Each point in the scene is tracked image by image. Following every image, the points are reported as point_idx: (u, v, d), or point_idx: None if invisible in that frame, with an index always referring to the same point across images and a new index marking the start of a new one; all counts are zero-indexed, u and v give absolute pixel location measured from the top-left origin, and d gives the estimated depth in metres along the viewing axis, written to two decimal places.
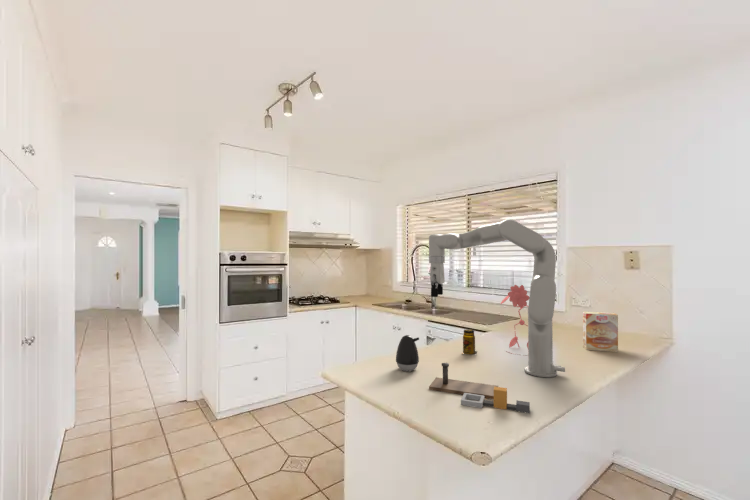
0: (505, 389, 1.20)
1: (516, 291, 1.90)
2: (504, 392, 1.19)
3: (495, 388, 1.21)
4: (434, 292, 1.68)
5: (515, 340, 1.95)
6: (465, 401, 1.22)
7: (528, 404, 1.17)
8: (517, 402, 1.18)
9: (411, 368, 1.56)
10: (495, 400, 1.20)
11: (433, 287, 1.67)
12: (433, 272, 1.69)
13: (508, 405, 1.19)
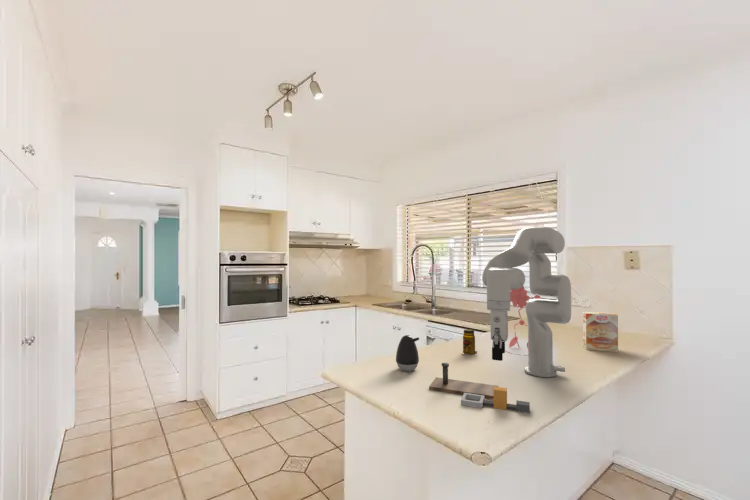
0: (505, 389, 1.20)
1: (516, 291, 1.90)
2: (504, 392, 1.19)
3: (495, 388, 1.21)
4: (497, 354, 1.16)
5: (515, 340, 1.95)
6: (465, 401, 1.22)
7: (528, 404, 1.17)
8: (517, 402, 1.18)
9: (411, 368, 1.56)
10: (495, 400, 1.20)
11: (496, 347, 1.16)
12: (495, 324, 1.17)
13: (508, 405, 1.19)
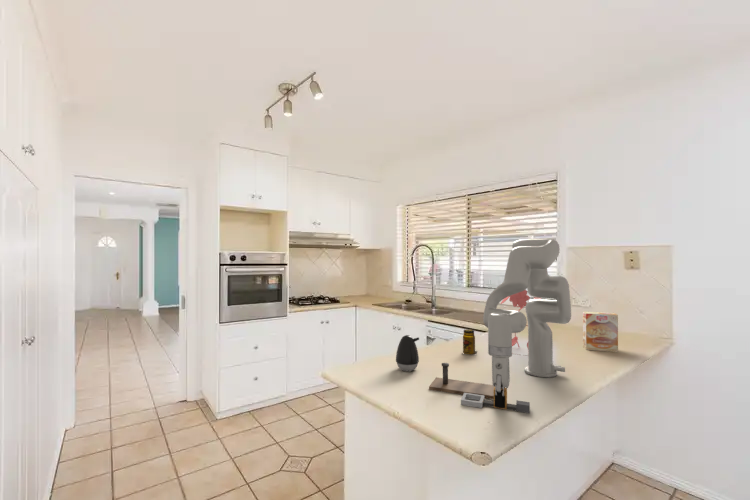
0: (505, 389, 1.20)
1: None
2: (504, 392, 1.19)
3: None
4: (500, 402, 1.18)
5: (515, 340, 1.95)
6: (465, 401, 1.22)
7: (528, 404, 1.17)
8: (517, 402, 1.18)
9: (411, 368, 1.56)
10: None
11: (499, 395, 1.18)
12: (497, 371, 1.16)
13: (508, 405, 1.19)
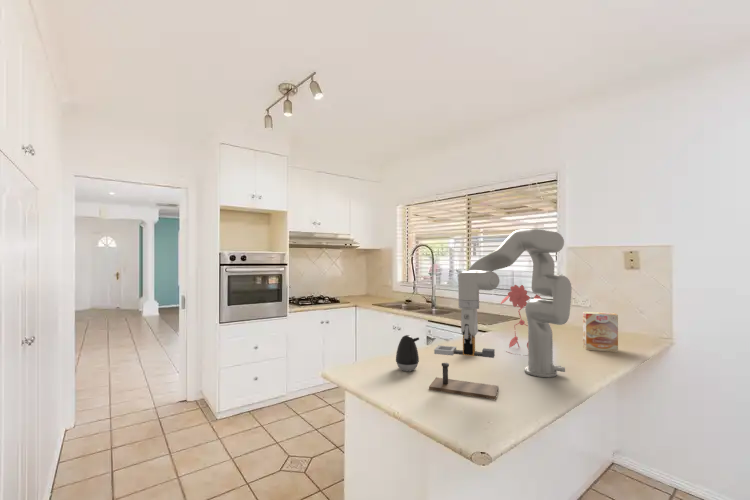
0: (473, 338, 1.35)
1: (516, 291, 1.90)
2: (472, 341, 1.34)
3: None
4: (468, 349, 1.33)
5: (515, 340, 1.95)
6: (438, 350, 1.37)
7: (493, 350, 1.32)
8: (483, 349, 1.33)
9: (411, 368, 1.56)
10: None
11: (467, 343, 1.33)
12: (465, 321, 1.31)
13: (476, 352, 1.34)
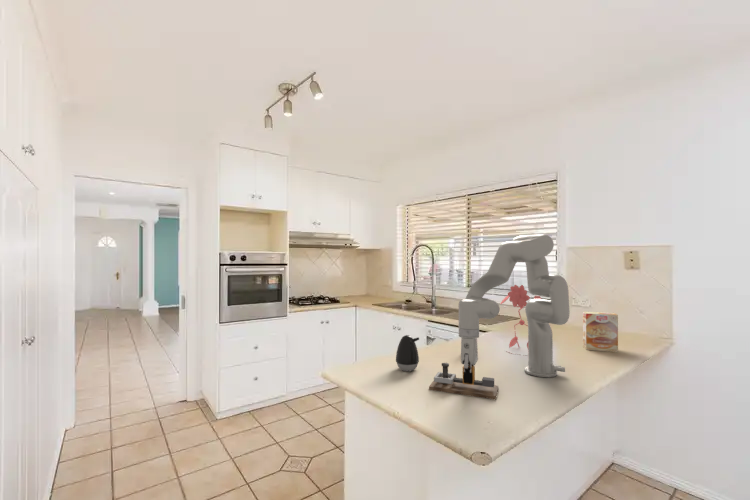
0: (473, 367, 1.35)
1: (516, 291, 1.90)
2: None
3: None
4: (468, 378, 1.33)
5: (515, 340, 1.95)
6: (437, 378, 1.37)
7: (492, 379, 1.31)
8: (483, 378, 1.33)
9: (411, 368, 1.56)
10: None
11: (467, 372, 1.33)
12: (465, 350, 1.31)
13: (475, 381, 1.34)
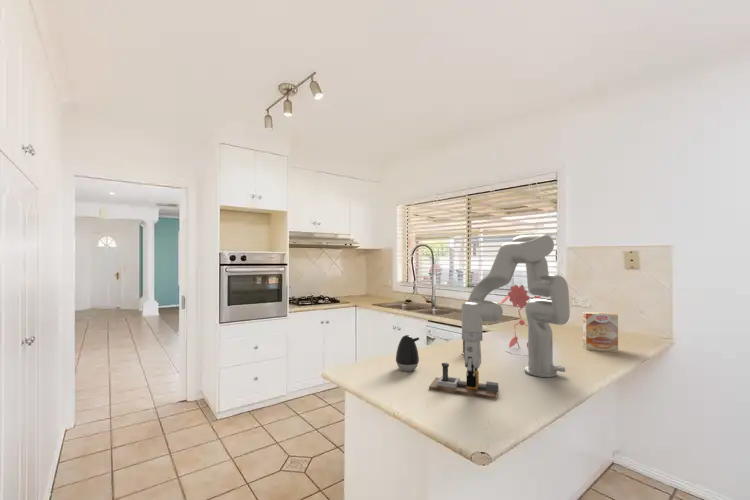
0: (477, 371, 1.34)
1: (516, 291, 1.90)
2: (475, 374, 1.33)
3: None
4: (471, 381, 1.32)
5: (515, 340, 1.95)
6: (441, 382, 1.36)
7: (496, 384, 1.31)
8: (487, 383, 1.33)
9: (411, 368, 1.56)
10: None
11: (470, 375, 1.31)
12: (468, 354, 1.31)
13: (479, 385, 1.34)
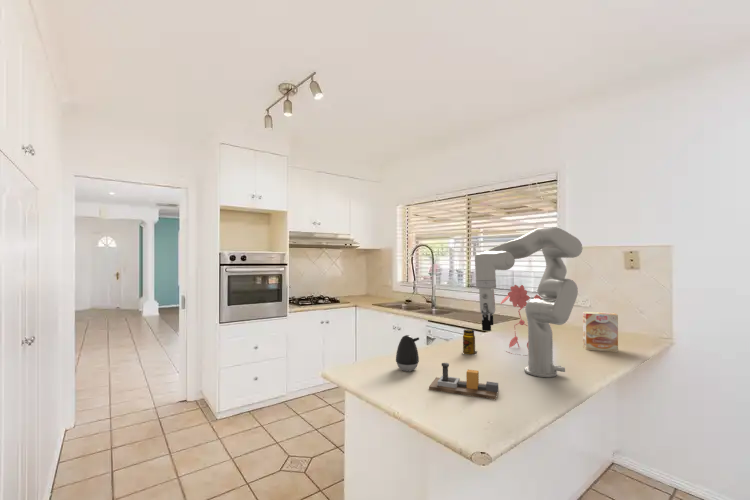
0: (477, 371, 1.34)
1: (516, 291, 1.90)
2: (475, 374, 1.33)
3: (468, 371, 1.35)
4: (486, 325, 1.36)
5: (515, 340, 1.95)
6: (441, 382, 1.36)
7: (496, 384, 1.31)
8: (487, 383, 1.33)
9: (411, 368, 1.56)
10: (468, 381, 1.34)
11: (485, 319, 1.36)
12: (484, 300, 1.37)
13: (479, 385, 1.34)
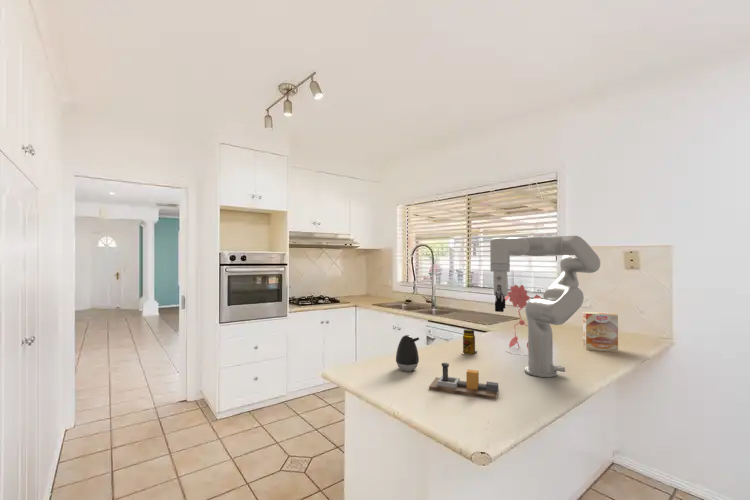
0: (477, 371, 1.34)
1: (516, 291, 1.90)
2: (475, 374, 1.33)
3: (468, 371, 1.35)
4: (499, 306, 1.42)
5: (515, 340, 1.95)
6: (441, 382, 1.36)
7: (496, 384, 1.31)
8: (487, 383, 1.33)
9: (411, 368, 1.56)
10: (468, 381, 1.34)
11: (498, 300, 1.42)
12: (498, 282, 1.43)
13: (479, 385, 1.34)
